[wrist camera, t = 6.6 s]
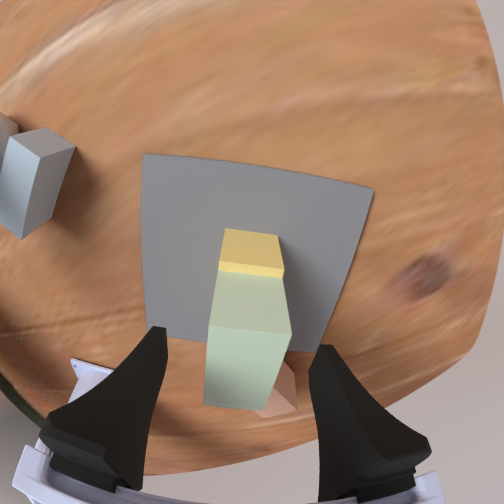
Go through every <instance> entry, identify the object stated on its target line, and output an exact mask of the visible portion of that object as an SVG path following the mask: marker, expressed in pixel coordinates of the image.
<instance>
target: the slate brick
mask: <svg viewBox="0 0 504 504" xmlns="http://www.w3.org/2000/svg"><path fill="white" fill-rule="evenodd" d="M75 147H76V146H75V145H73V144H72V143H70V142H69V141H67V140H65V139H64V138H62V137H61V136H59V135H57V134H56V133H54V132H53V131H51V130H50V129H48V128H41V129H36V130H32V131H28V132H24V133H20V134H16V135H12V136H10V137H9V140H8V144H7V148H6V152H5V156H4V160H3V164H2V169H1V174H0V223H1V224H3V225H4V226H5V227H6V228H7V229H8V230H10V231H11V232H12V233H13V234H14V235H16V236H17V237H18V238H19V239H20V240H22V239H24V238H25V237H26V236H27V235H29V234H30V233H31V232H33V231H34V230H35V229H37V228H38V227H39V226H41V225H42V224H43V223H45V222H46V221H48V220H49V219H50V218H52V214H53V211H54V207H55V204H56V201H57V197H58V194H59V191H60V188H61V185H62V182H63V179H64V176H65V173H66V170H67V168H68V165H69V162H70V160H71V157H72V155H73V152H74V150H75Z"/></svg>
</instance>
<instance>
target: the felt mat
mask: <svg viewBox="0 0 504 504" xmlns="http://www.w3.org/2000/svg"><path fill="white" fill-rule="evenodd" d="M373 192H374V190H373V189H372V188H370V187H365V186H361V185H357V184H353V183H349V182H344V181H340V180H335V179H330V178H326V177H321V176H316V175H311V174H306V173H300V172H295V171H290V170H284V169H278V168H272V167H266V166H260V165H253V164H246V163H239V162H231V161H224V160H215V159H207V158H197V157H187V156H176V155H164V154H150V153H145V154H143V162H142V186H141V247H142V271H143V287H144V300H145V311H146V321H147V330H148V331H149V330H150V328H151V327H152V326H158V327H164V328H166V332H167V337H173V338H179V339H185V340H192V341H199V342H206V343H207V341H208V328H209V321H210V315H211V309H212V303H213V297H214V291H215V285H216V280H217V274H218V267H219V259H220V254H221V248H222V243H223V238H224V233H225V228H228V229H236V230H243V231H250V232H257V233H264V234H272V235H277V236H278V241H279V245H280V250H281V255H282V260H283V265H284V273H283V277H282V279H283V285H284V290H285V296H286V302H287V308H288V313H289V319H290V325H291V331H292V336H291V339H290V342H289V344H288V347H287V350H286V351H298V352H316V351H317V348H318V346H319V344H320V341H321V339H322V337H323V335H324V332H325V330H326V327H327V325H328V323H329V320H330V318H331V315H332V313H333V310H334V308H335V305H336V303H337V300H338V298H339V295H340V293H341V290H342V287H343V285H344V282H345V279H346V276H347V274H348V271H349V268H350V265H351V263H352V260H353V257H354V254H355V251H356V248H357V245H358V242H359V239H360V236H361V233H362V229H363V226H364V223H365V220H366V217H367V213H368V210H369V206H370V203H371V200H372V196H373Z"/></svg>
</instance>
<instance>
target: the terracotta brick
mask: <svg viewBox="0 0 504 504" xmlns="http://www.w3.org/2000/svg"><path fill="white" fill-rule="evenodd" d="M253 411H254V412H256V413H257V414H258V415H260V416H261V417H262V418H267V417H271V416H276V415H281V414H285V413H290V412H294V411H298V409H297V399H296V388H295V378H294V372H293V371H292V370H291V369H290V368H289V366H288V365H287V364H286V363H285V361H284V360H283V361H282V364H281V367H280V370H279V372H278V375H277V378H276V380H275V383H274V386H273V388H272V391H271V393H270V396H269V398H268V401H267V404H266V406H265V409H264V411H262V410H253Z"/></svg>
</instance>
